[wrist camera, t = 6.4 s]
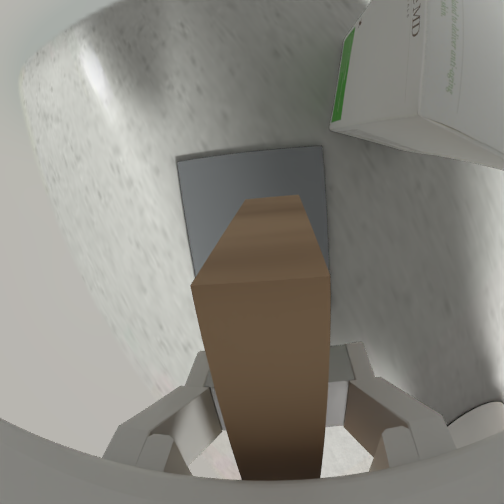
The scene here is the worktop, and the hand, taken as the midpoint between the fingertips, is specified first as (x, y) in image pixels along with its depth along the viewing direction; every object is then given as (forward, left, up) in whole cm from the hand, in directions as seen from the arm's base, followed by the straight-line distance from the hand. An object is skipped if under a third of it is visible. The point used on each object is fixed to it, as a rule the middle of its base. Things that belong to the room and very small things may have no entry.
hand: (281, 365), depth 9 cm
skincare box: (+10, -8, -16) cm, 21 cm away
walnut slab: (0, 0, -2) cm, 2 cm away
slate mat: (-1, +2, -16) cm, 16 cm away
